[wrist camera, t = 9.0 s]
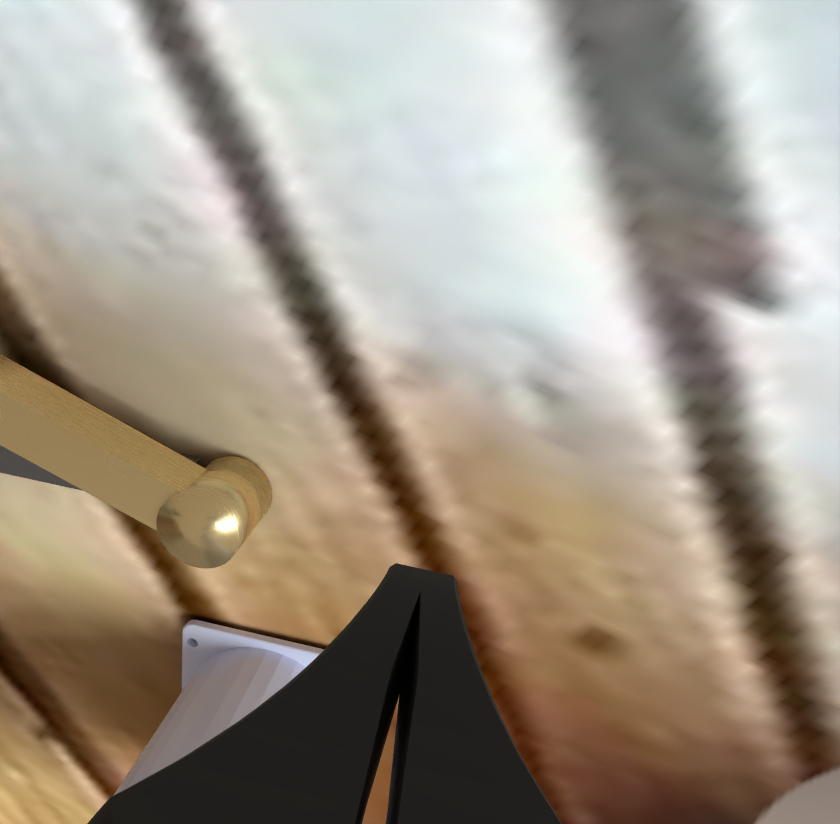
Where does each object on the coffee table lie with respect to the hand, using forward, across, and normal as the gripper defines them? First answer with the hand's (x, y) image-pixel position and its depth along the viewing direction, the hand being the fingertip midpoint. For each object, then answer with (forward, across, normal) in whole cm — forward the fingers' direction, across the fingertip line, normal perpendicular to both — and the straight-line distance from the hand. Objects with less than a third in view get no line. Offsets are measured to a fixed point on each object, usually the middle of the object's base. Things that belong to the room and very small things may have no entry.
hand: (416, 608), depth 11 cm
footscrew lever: (+9, +13, +2) cm, 16 cm away
